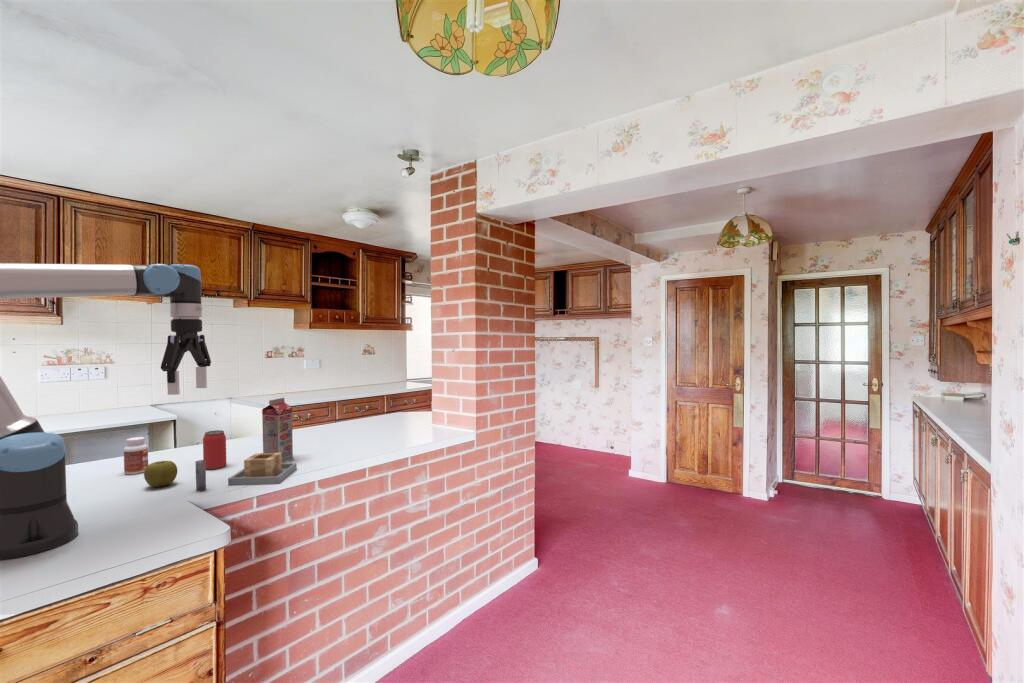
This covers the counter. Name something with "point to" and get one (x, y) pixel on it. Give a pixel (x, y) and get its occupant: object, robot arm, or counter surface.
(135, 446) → the pill bottle
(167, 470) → the apple
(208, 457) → the beer can
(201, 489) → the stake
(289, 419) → the juice carton
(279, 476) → the tray
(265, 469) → the oak ring
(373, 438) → the counter surface
